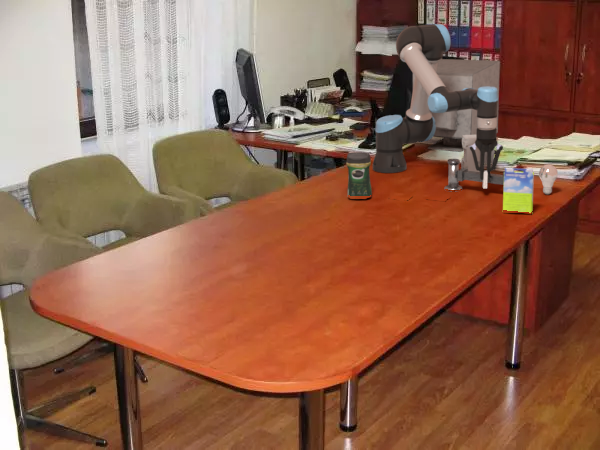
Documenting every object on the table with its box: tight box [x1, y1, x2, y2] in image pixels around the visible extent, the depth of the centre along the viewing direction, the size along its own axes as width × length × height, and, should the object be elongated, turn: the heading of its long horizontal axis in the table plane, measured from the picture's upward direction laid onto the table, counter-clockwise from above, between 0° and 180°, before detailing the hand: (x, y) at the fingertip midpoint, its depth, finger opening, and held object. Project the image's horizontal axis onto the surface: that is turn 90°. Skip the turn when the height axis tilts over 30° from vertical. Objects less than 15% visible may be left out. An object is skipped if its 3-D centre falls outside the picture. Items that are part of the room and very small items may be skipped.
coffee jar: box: [346, 151, 373, 196], centre depth 325 cm, size 10×8×19 cm
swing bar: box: [457, 168, 505, 186], centre depth 324 cm, size 22×5×6 cm, turn 54°
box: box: [502, 167, 535, 213], centre depth 298 cm, size 10×4×17 cm, turn 72°
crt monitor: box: [412, 58, 501, 153], centre depth 397 cm, size 35×37×40 cm
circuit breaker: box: [460, 135, 497, 172], centre depth 358 cm, size 8×14×15 cm, turn 89°
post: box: [444, 158, 463, 190], centre depth 332 cm, size 7×7×12 cm
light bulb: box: [538, 164, 559, 196], centre depth 319 cm, size 7×7×12 cm
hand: (484, 187), depth 322 cm, fingers closed
